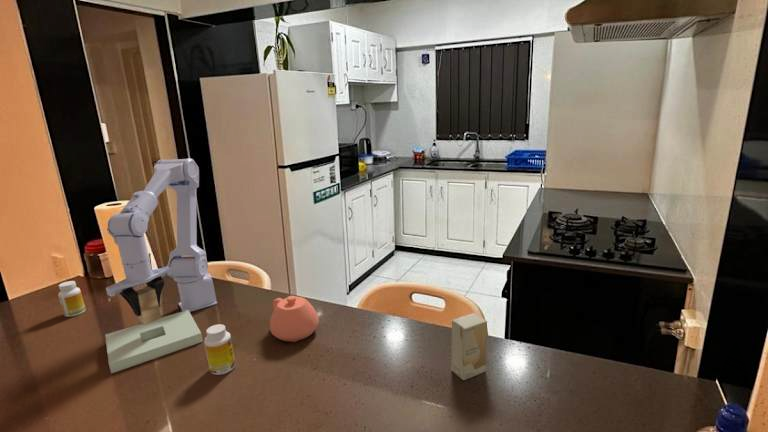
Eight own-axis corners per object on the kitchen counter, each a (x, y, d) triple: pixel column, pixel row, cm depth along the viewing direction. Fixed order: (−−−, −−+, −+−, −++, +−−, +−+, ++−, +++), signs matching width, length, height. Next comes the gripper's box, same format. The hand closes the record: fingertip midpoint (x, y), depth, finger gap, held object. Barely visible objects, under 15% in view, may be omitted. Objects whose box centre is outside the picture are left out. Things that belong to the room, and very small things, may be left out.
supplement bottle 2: (237, 371, 94) (230, 331, 91) (211, 379, 91) (203, 338, 89) (234, 358, 98) (227, 319, 96) (209, 365, 96) (201, 326, 93)
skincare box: (463, 381, 86) (463, 329, 83) (450, 370, 90) (450, 319, 87) (487, 371, 89) (488, 320, 86) (474, 360, 93) (474, 311, 89)
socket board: (189, 317, 119) (188, 309, 118) (202, 341, 106) (201, 332, 106) (107, 343, 108) (105, 334, 107) (111, 373, 95) (108, 364, 95)
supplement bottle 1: (90, 308, 128) (82, 279, 125) (76, 317, 123) (67, 287, 120) (74, 308, 128) (66, 279, 126) (59, 317, 123) (50, 287, 121)
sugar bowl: (293, 352, 100) (288, 314, 97) (257, 335, 108) (251, 299, 105) (329, 328, 109) (325, 293, 106) (293, 314, 117) (289, 281, 115)
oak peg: (153, 314, 108) (147, 285, 106) (161, 317, 106) (154, 289, 103) (137, 320, 105) (130, 292, 103) (145, 325, 103) (138, 295, 100)
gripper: (157, 248, 109) (167, 295, 113) (95, 267, 98) (109, 319, 101) (171, 252, 105) (181, 301, 108) (108, 273, 94) (122, 327, 97)
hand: (147, 310), depth 105 cm, fingers closed on oak peg, 4 cm apart
